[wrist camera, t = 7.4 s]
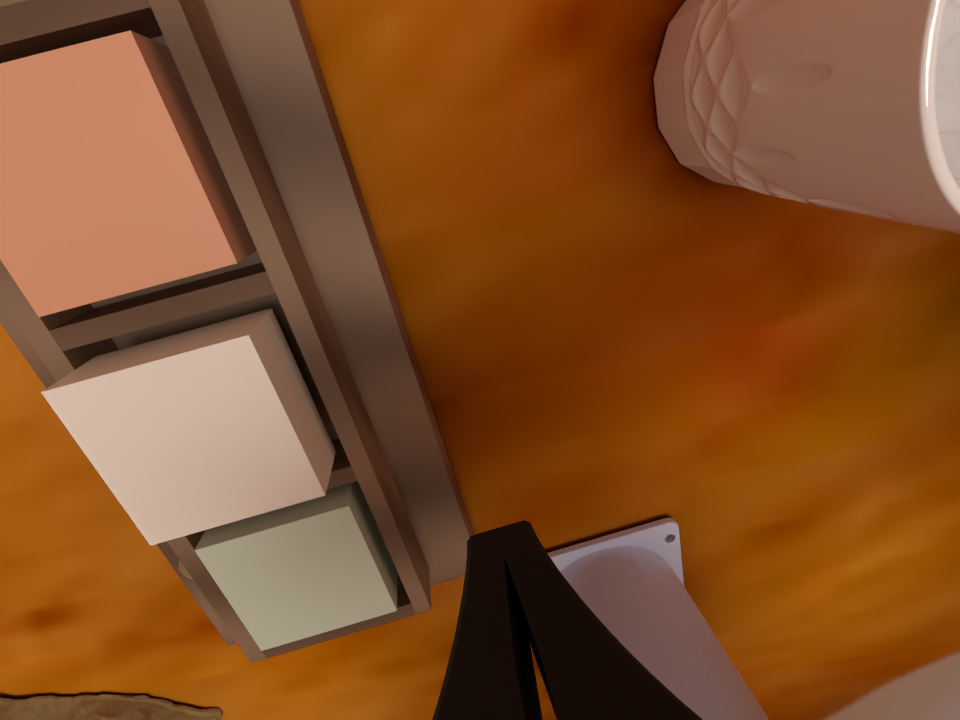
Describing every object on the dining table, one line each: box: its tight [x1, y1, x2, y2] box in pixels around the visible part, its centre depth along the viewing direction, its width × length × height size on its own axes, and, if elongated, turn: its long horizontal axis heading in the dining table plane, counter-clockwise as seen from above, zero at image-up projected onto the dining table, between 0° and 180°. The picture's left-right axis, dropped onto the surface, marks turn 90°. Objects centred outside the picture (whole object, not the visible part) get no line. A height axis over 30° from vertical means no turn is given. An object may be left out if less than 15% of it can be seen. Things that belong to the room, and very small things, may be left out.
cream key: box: [41, 308, 336, 546], centre depth 14 cm, size 5×5×2 cm
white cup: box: [653, 0, 960, 234], centre depth 12 cm, size 8×8×10 cm
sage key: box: [194, 481, 398, 651], centre depth 17 cm, size 5×5×2 cm
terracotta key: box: [0, 30, 257, 317], centre depth 12 cm, size 5×5×2 cm
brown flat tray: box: [0, 0, 474, 663], centre depth 16 cm, size 22×11×4 cm, turn 14°
